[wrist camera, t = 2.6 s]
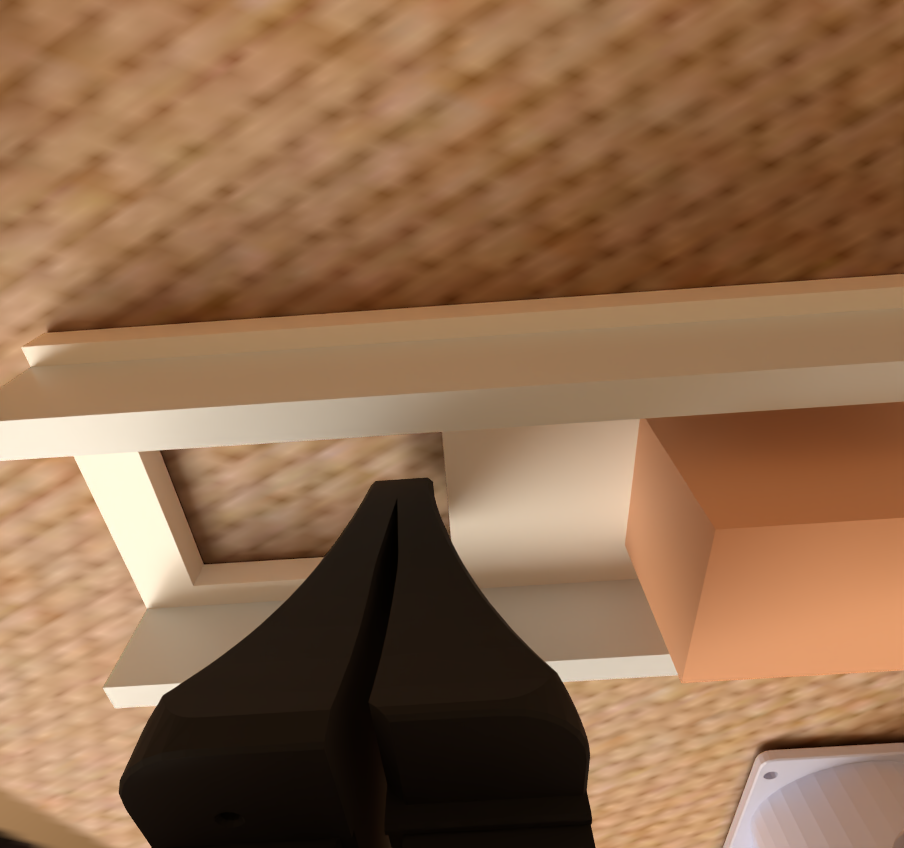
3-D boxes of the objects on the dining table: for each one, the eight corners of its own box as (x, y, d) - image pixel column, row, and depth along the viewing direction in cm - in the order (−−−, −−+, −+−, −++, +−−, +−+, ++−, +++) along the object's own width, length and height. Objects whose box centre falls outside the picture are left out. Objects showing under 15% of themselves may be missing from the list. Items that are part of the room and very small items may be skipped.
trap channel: (1021, 565, 17) (1137, 659, 14) (173, 617, 17) (121, 718, 14) (1208, 252, 12) (1438, 300, 9) (44, 332, 12) (-69, 402, 10)
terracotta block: (857, 530, 15) (985, 665, 11) (624, 545, 15) (681, 683, 11) (909, 393, 13) (1085, 506, 9) (640, 411, 13) (715, 529, 9)
